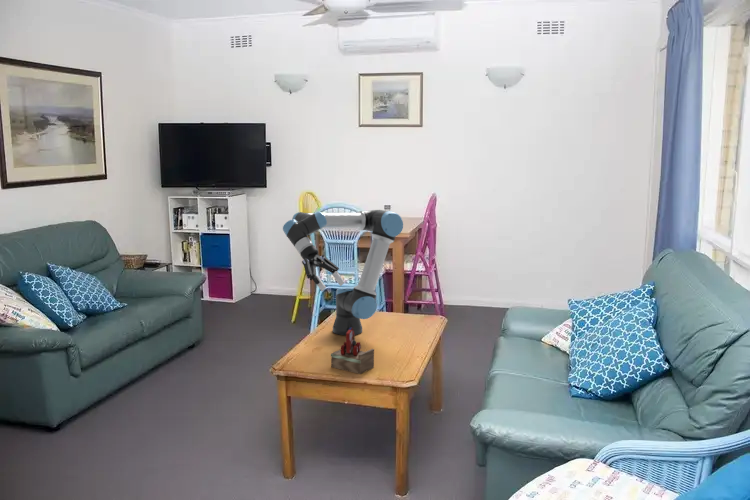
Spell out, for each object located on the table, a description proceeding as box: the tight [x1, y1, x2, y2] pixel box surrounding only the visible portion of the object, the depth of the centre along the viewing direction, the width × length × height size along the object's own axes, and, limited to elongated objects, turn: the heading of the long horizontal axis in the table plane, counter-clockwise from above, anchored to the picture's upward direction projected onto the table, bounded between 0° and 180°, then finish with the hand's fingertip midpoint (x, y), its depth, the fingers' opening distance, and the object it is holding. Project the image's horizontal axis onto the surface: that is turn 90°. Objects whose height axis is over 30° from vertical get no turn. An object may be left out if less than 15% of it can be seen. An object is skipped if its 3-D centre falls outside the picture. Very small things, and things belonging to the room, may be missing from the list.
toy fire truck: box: [340, 328, 362, 356], centre depth 262 cm, size 7×12×10 cm, turn 170°
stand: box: [330, 348, 375, 375], centre depth 262 cm, size 15×10×8 cm
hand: (333, 286), depth 272 cm, fingers open, 13 cm apart
